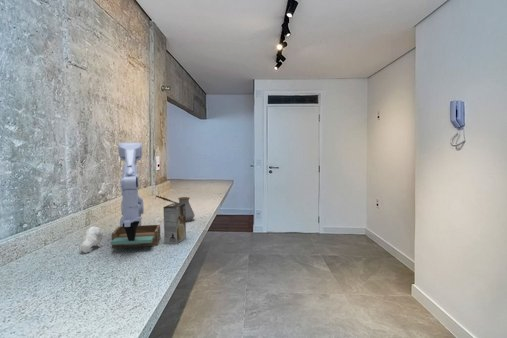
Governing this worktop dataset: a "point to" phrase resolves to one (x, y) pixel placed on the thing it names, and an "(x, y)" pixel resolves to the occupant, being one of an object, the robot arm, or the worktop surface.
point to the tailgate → (136, 242)
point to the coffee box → (174, 223)
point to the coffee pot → (188, 209)
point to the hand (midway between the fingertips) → (131, 240)
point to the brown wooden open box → (138, 235)
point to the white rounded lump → (91, 239)
